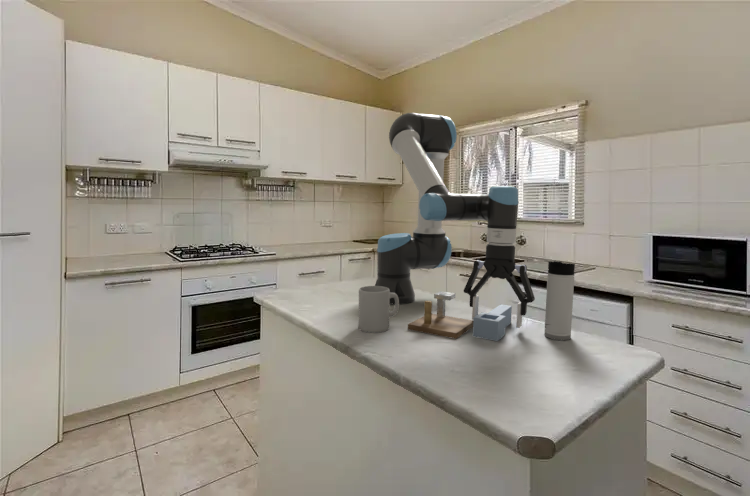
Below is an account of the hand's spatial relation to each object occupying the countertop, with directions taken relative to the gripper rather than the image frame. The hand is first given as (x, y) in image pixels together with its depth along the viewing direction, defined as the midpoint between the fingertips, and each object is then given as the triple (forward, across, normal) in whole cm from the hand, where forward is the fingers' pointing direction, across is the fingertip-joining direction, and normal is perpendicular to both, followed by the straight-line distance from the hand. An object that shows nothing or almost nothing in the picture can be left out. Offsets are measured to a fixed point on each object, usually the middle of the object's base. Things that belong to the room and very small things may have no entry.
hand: (496, 322), depth 113 cm
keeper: (0, -14, -5) cm, 14 cm away
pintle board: (+2, -13, -8) cm, 15 cm away
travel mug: (+2, +15, +2) cm, 16 cm away
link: (+2, 0, -1) cm, 2 cm away
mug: (+2, -27, -17) cm, 32 cm away
